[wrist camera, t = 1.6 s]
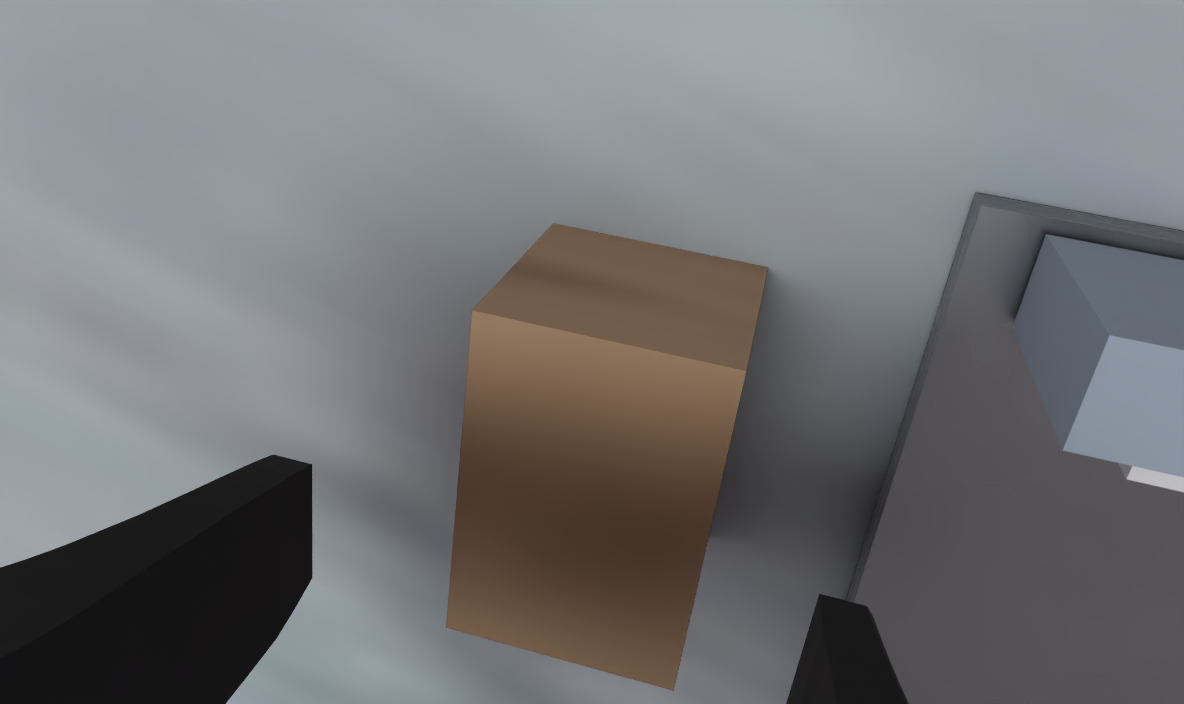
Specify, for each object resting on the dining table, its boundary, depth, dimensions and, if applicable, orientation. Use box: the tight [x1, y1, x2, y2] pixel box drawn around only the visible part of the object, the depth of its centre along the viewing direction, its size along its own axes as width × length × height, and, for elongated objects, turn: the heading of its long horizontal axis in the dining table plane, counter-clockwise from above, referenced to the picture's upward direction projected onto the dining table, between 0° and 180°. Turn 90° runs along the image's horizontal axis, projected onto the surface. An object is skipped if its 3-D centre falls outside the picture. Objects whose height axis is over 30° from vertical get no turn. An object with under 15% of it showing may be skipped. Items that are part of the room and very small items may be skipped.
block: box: [446, 223, 768, 691], centre depth 17 cm, size 6×4×4 cm, turn 171°
